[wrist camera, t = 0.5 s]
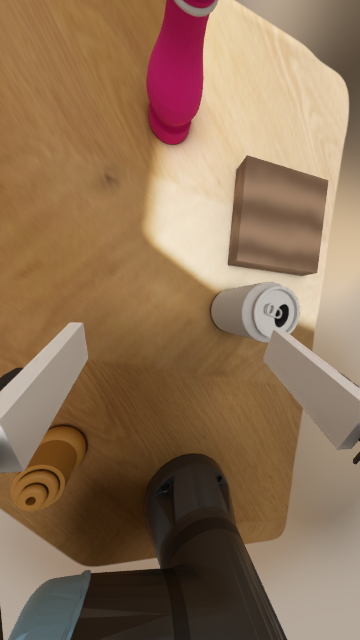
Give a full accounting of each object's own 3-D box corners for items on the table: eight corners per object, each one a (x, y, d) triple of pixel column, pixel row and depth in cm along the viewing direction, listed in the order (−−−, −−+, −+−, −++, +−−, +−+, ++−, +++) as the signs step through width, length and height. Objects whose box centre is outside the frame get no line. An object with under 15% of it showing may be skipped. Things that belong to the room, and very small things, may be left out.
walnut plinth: (302, 275, 35) (317, 272, 32) (227, 264, 31) (236, 260, 28) (312, 191, 34) (328, 180, 31) (236, 169, 30) (247, 155, 28)
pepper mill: (200, 134, 29) (328, -226, 9) (164, 157, 28) (224, -193, 8) (173, 88, 27) (258, -452, 8) (135, 110, 26) (123, -443, 7)
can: (238, 336, 33) (293, 353, 21) (202, 322, 31) (240, 332, 20) (252, 299, 33) (314, 295, 21) (218, 282, 31) (265, 268, 20)
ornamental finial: (88, 421, 28) (86, 466, 29) (34, 424, 27) (32, 472, 27) (69, 465, 20) (66, 525, 21) (-10, 473, 19) (-11, 539, 19)
